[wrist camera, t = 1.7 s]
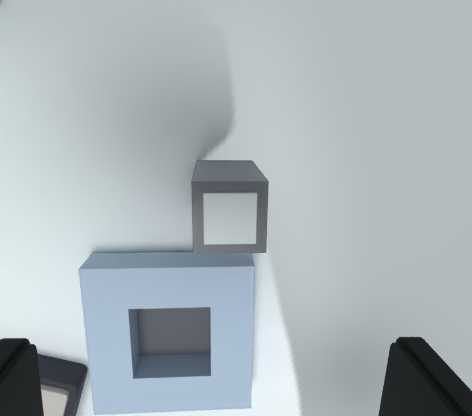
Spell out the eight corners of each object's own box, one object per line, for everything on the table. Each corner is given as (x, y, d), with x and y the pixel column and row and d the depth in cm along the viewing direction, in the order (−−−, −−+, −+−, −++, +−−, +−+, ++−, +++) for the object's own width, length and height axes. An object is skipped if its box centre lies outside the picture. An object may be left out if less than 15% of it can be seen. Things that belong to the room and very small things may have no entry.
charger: (197, 160, 27) (191, 182, 19) (252, 160, 27) (268, 181, 19) (197, 213, 28) (192, 255, 20) (250, 213, 28) (266, 253, 20)
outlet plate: (92, 252, 28) (78, 269, 25) (250, 250, 29) (254, 266, 26) (105, 386, 31) (94, 414, 28) (247, 381, 32) (251, 408, 29)
